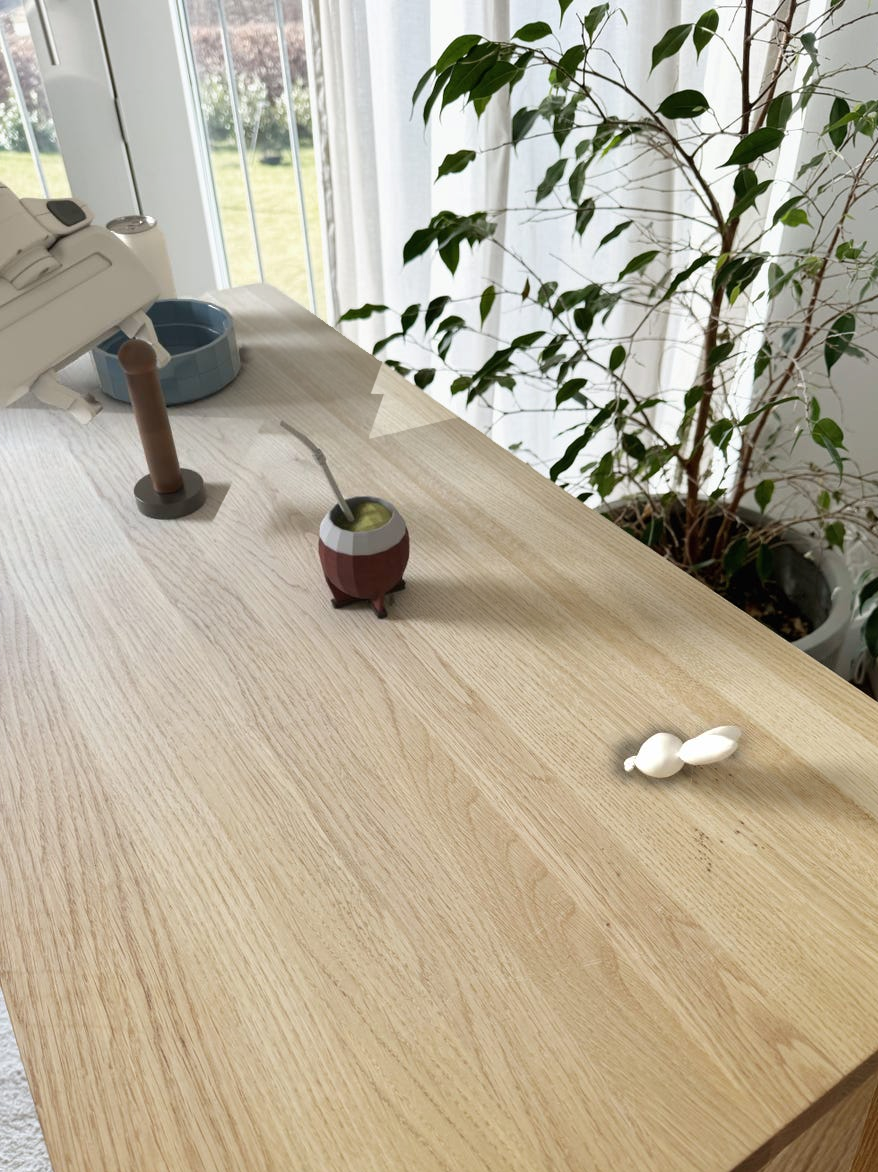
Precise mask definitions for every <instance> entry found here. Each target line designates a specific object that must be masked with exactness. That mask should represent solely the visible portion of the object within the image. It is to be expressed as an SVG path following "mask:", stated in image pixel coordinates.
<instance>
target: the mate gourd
mask: <svg viewBox="0 0 878 1172" xmlns="http://www.w3.org/2000/svg"><path fill="white" fill-rule="evenodd" d="M279 426H280V427H281V428H282V429H283V430H285V431H286V432H287V433H289V434H290V435H291V436H293V437H294V438H296V439H297V440H298V441H299V442H300V443H302V444H303V445H304V446H305V447H306V448H307V449H308V450H309V451H310V453H311V454H310V455H311V457H312V458H313V460H314V462H315V464H316V465H317V466H319V468H320V470H321V472H322V474H323V475H324V478H325V479H326V482H327V484H328V485H329V488H330V490H331V492H332V494H333V496H334V498H335V499H336V503H334V504H333V506H332V507H331V508H330V509H329V510H328V511H327V513H326V514H325V516H324V517H323V519H322V520H321V522H320V525H319V537H318V544H317V545H318V547H317V548H318V549H317V550H318V551H317V552H318V556H319V560H320V564H321V568H322V572H323V575H324V579H325V582H326V584H327V587H328V588H329V591H330V592H331V594H332V597H333V598H331V599H330V603H331V606H332V608H333V609H335V610H336V609H341V608H343V607H347V606H351V605H355V604H357V603H362V602H366V603H367V604H368V605H369V607H370V609H371V610H372V612H373V613H374V615H375V617H376V618H377V619H379V620H382V619H384V618H386V617H388V612H387V610H386V608H385V606H384V603H385V595H389V594H393V593H395V592H399V591H402V590H405V589H406V584H407V582H406V580H405V579H403V577H404V573H405V571H406V569H407V566H408V563H409V559H410V543H411V542H410V534H409V529H408V527H407V525H406V520H405V519H404V517H403V516H402V514H401V513H400V512H399V511H398V510H397V508H396V507H395V506H394V504H392V503H390V502H388V501H387V500H385V499H383V498H382V497H376V496H372V495H355V496H352V497H348V498H344V496H343V494H342V492H341V490H340V488H339V485H338V483H337V482H336V479H335V478H334V475H333V474H332V471H331V469H330V467H329V466H328V463H327V462H326V461H327V458H326V456H325V454H324V452H323V451H322V449H321V448H319V447H318V446H317V445H316V443H314V442H313V441H312V440H311V439H310V438H309V437H307V436H306V435H305V434H303V433H302V432H300V431H299V430H297V429H296V428H294V427H293V426H291V425H290V424H288V423H287V422H285V421H283V420H281V421H280V423H279Z"/></svg>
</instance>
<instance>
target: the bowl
mask: <svg viewBox="0 0 878 1172" xmlns="http://www.w3.org/2000/svg"><path fill="white" fill-rule="evenodd" d="M145 314H146V315H147V316H148V317H149V318H150V319H151V321H152V324H153V327H154V330H155V333H156V336H157V339H158V342H159V343H160V344H161V346H162V347H163V348H164V349H165V350H166V351H167V352H168V353H169V354H170V356H171V360H170V361H169V362H168V363H167V365H166V366H165V367H163V368H162V369H160V370H159V371H158V375H159V379H160V383H161V388H162V392H163V396H164V401H165V405H166V407H167V406H176V405H177V406H178V405H181V404H187V403H191V402H195V401H198V400H202V399H205V398H207V397H209V396H211V395H214V394H215V393H217V392H219V391H221V390H222V389H224V387H226V386H227V385H228V384H229V383H231V382H232V381H233V380H235V378H236V377H237V375H238V374H239V372H240V370H241V368H242V367H241V358H240V351H239V346H238V345H239V344H238V339H237V335H236V327H235V323H234V316H233V315H232V314H231V313H230V312H229V311H228V310H227V309H226V308H224V307H222V306H220V305H217V304H215V303H212V302H209V301H203V300H198V299H194V298H193V299H192V298H177V299H163V300H156V301H155V303H154V304H153V305H152V307H151V308H150V309H149V310H148V311H147V312H146V313H145ZM130 339H131V338H129V337H128V336H127V335H126V334H125V333H124V332H123V331H122V330H120V331H118V332H117V333H115V334H114V335H112V336H111V337H109V338H108V339H106V340H105V341H103V342H102V343H100V344H99V345H97V346H96V347H94V348H93V349H92V350H90V351H89V352H88V354H89V358H90V361H91V365H92V369H93V372H94V376H95V379H96V383H97V385H98V386H99V387H100V389H101V390H102V392H103V393H104V394H107V395H108V396H110V397H111V398H114V399H116V400H119V401H122V402H124V403H129V404H131V405H132V403H131V399H130V395H129V391H128V387H127V383H126V379H125V375H124V371H123V370H122V368H121V367H120V365H119V362H118V351H119V349H120V347H121V345H122V344H123V343H124V342H126V341H128V340H130ZM132 339H136V337H135V336H134V337H133V338H132Z"/></svg>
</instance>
